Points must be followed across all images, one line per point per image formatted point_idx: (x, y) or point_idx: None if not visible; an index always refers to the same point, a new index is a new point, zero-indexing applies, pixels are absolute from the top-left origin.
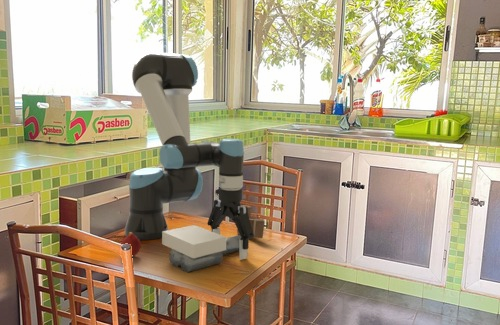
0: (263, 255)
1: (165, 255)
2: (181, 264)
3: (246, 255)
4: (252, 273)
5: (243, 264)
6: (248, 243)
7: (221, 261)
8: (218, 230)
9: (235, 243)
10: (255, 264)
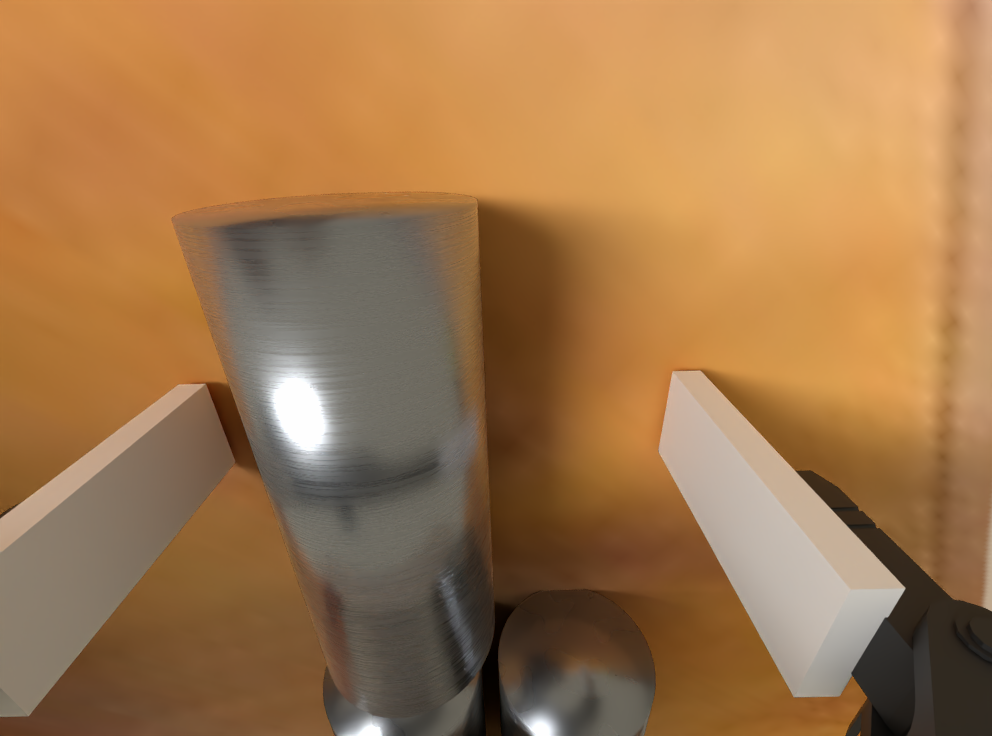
0: (793, 95)
1: (237, 724)
2: None
3: (711, 394)
4: (943, 535)
5: None
6: (888, 537)
7: (625, 613)
8: (4, 608)
9: (473, 434)
10: (866, 399)
